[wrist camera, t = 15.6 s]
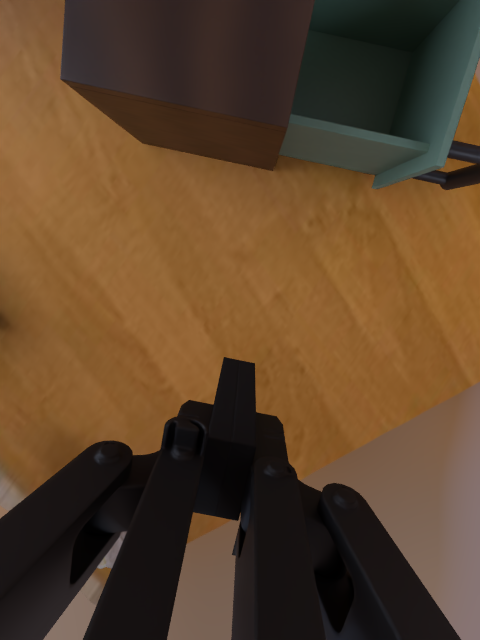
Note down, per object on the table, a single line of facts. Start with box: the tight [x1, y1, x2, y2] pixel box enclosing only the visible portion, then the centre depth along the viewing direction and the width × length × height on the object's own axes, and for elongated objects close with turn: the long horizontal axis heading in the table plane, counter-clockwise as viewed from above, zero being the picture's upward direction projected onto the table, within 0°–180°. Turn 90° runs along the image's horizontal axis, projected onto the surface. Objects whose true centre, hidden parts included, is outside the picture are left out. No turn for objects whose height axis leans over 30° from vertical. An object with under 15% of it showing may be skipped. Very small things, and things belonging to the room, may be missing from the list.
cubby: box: [60, 0, 315, 171], centre depth 27 cm, size 14×14×16 cm
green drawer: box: [279, 0, 480, 190], centre depth 28 cm, size 20×14×13 cm
